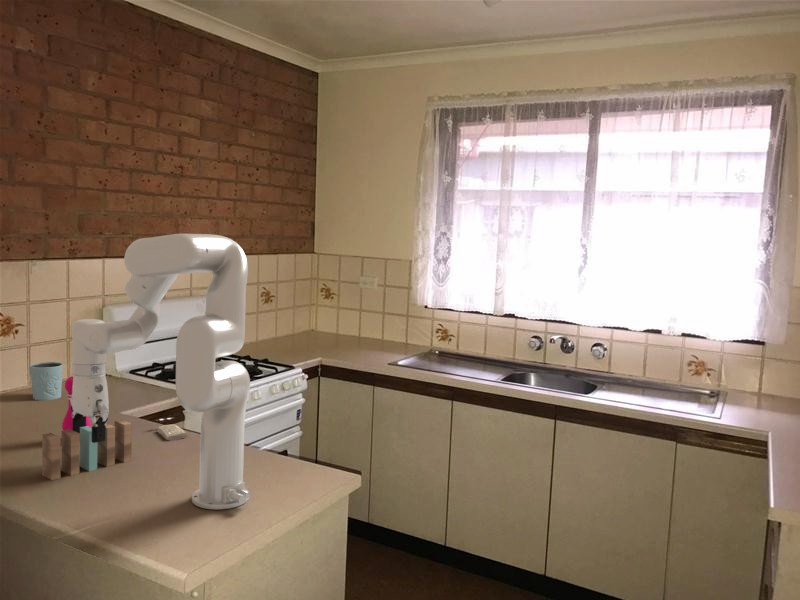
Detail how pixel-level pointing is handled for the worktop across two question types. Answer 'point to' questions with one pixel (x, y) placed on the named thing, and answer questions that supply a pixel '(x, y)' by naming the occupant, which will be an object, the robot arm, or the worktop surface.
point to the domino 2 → (70, 452)
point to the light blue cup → (46, 380)
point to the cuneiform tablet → (171, 431)
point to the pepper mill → (68, 417)
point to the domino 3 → (87, 449)
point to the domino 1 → (51, 456)
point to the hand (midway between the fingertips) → (88, 437)
